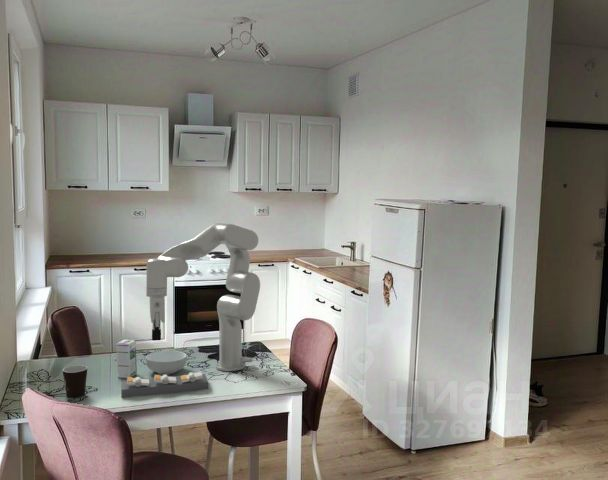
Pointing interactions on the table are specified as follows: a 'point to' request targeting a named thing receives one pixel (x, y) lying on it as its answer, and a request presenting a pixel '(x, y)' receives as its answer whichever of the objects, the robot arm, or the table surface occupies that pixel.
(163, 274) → the robot arm
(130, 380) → the rocker
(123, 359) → the syrup box
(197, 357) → the table surface
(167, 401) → the table surface
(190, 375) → the rocker
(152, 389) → the switch panel
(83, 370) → the coffee mug
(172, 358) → the cereal bowl
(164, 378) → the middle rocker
